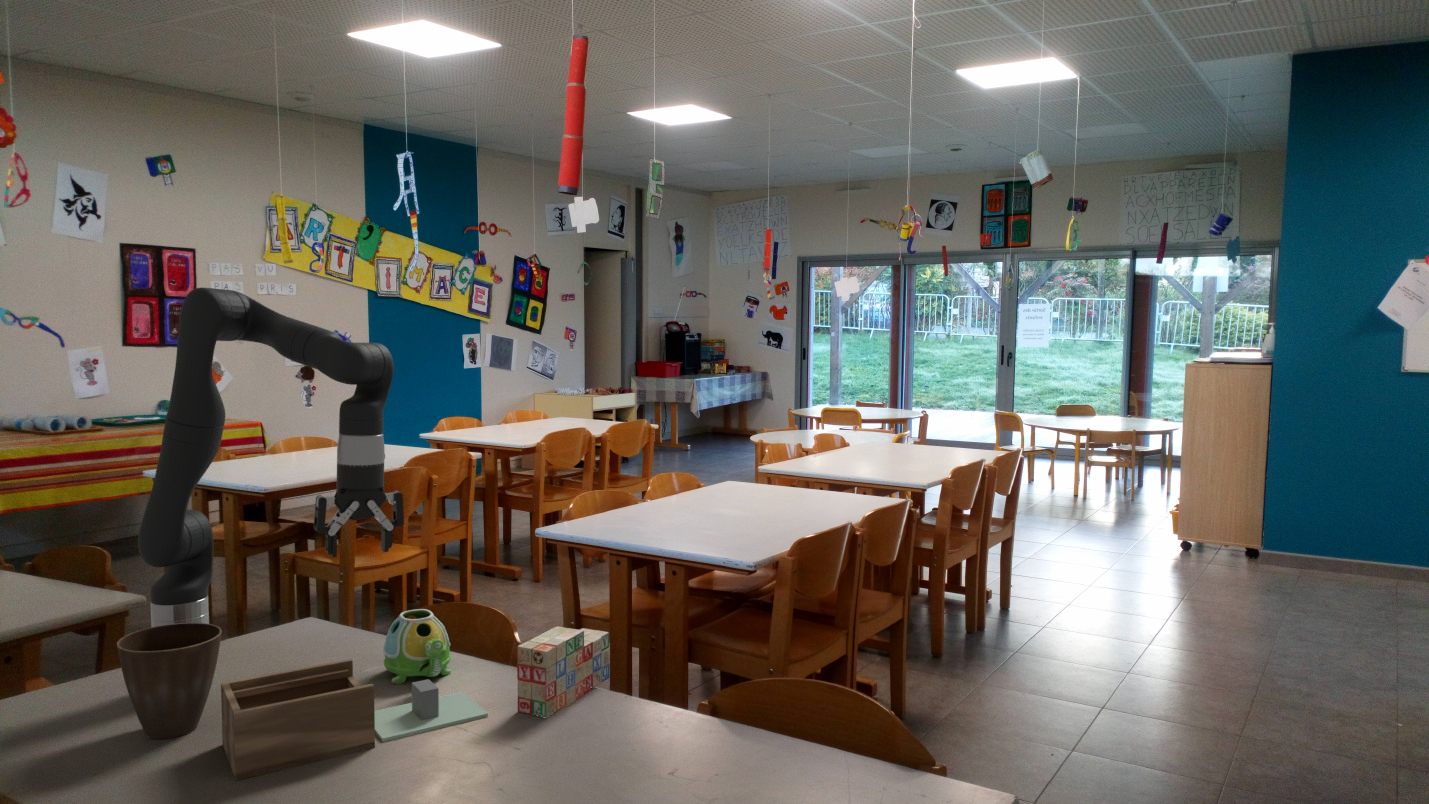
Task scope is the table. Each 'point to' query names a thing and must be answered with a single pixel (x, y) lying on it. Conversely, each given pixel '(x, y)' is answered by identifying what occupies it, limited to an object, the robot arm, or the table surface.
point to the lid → (425, 712)
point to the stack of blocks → (560, 668)
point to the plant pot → (170, 675)
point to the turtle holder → (417, 646)
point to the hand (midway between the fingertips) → (359, 553)
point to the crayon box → (295, 718)
